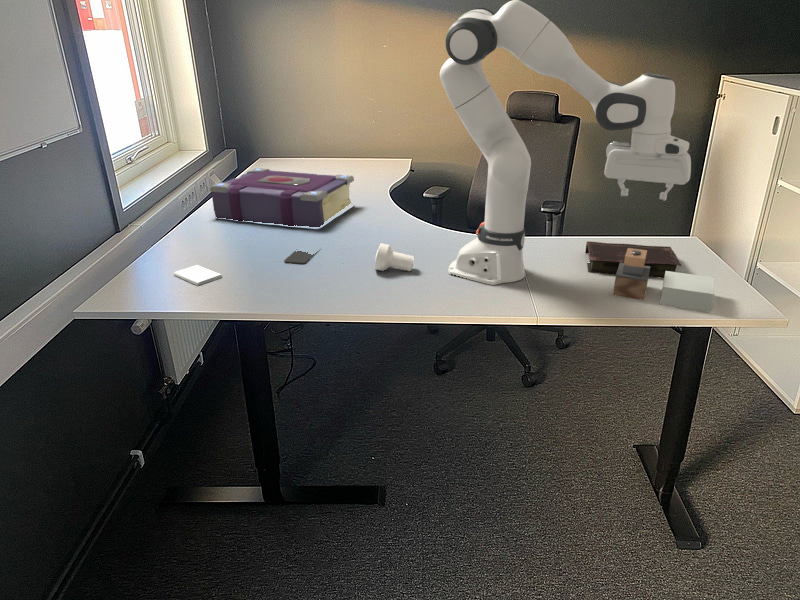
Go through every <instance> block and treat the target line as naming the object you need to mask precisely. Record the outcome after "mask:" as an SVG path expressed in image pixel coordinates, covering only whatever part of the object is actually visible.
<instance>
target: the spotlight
mask: <svg viewBox="0 0 800 600" xmlns="http://www.w3.org/2000/svg"><path fill="white" fill-rule="evenodd" d="M414 258H415V256H414V255H411V254H405V253H402V252H397V251H394V250H393V248H392V247H391V245H390V244H386V243H382V242H381V243H379V246H378V248H377V251H376V254H375V257H374V270H376V271H377V270H378V271H382V272H384V270H385V271H386V270H388V269H389V268H393V269H398V270H403V271H406V270H407V272H410V271H412V269H413V267H414V263H413V262H414ZM411 268H412V269H411Z"/></svg>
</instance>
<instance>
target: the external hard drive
mask: <svg viewBox="0 0 800 600" xmlns="http://www.w3.org/2000/svg"><path fill="white" fill-rule="evenodd" d="M173 276H175V277H177V278H179V279H182V280H184V281H186V282H189V283H191V284H194V285H195V286H197V287H199V286H201V285H205V284H208V283H210V282H213V281H216V280H218V279H222V278H223V274H221V273H219V272H216V271H213V270H211V269H209V268H205V267H203V266H201V265H199V264H195V265H192V266H189V267H186V268H183V269H182V268H181V269H180V270H177V271H174V272H173Z"/></svg>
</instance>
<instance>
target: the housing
mask: <svg viewBox="0 0 800 600" xmlns="http://www.w3.org/2000/svg"><path fill="white" fill-rule="evenodd" d="M646 254H647V250H640V249H632V248H628V249H627V252H626V255H625V260H624V266H623V273H622V274H628V275H635V276H642V275H643V271H644V266H645V260H646Z"/></svg>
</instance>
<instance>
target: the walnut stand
mask: <svg viewBox="0 0 800 600" xmlns="http://www.w3.org/2000/svg"><path fill="white" fill-rule="evenodd" d="M623 266H624V263H621V262H620V264H619V267H618V270H617V273H616V275H615V278H614V284H613V291H612V296H615V297H621V298H627V299H635V300H640V301H645V298H646V291H647V287H648V282H649V278H650V277H649V272H650V266H644V271H643V275H642V276H635V275H628V274H622V273H623Z"/></svg>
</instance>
